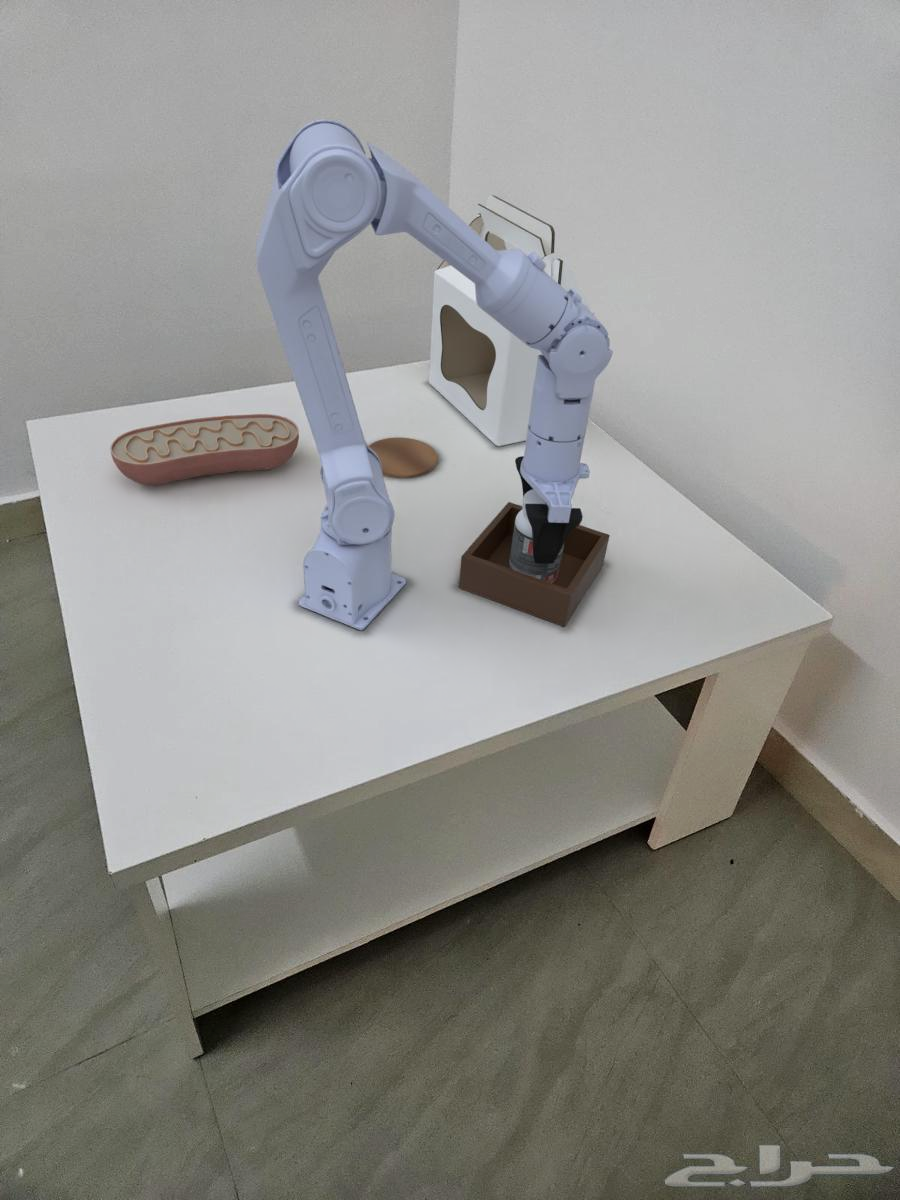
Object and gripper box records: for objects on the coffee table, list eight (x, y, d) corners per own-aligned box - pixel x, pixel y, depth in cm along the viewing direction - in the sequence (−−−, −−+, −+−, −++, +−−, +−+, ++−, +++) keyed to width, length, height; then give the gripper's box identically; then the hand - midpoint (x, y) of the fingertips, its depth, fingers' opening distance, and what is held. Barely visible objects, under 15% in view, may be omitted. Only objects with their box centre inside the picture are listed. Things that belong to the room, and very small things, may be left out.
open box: (564, 627, 86) (571, 595, 83) (458, 587, 90) (461, 556, 87) (603, 565, 95) (610, 534, 92) (504, 532, 99) (508, 501, 96)
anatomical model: (121, 504, 98) (113, 468, 95) (114, 463, 105) (106, 428, 102) (308, 477, 106) (306, 443, 103) (290, 440, 113) (288, 407, 109)
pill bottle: (555, 593, 90) (569, 519, 84) (504, 584, 91) (514, 509, 84) (560, 563, 94) (574, 490, 88) (511, 554, 95) (522, 481, 89)
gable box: (427, 382, 129) (436, 190, 111) (499, 370, 134) (519, 185, 117) (497, 448, 115) (521, 239, 97) (575, 432, 120) (611, 230, 102)
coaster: (415, 486, 106) (415, 482, 105) (349, 464, 109) (349, 460, 109) (450, 453, 113) (450, 450, 112) (387, 433, 116) (387, 430, 116)
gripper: (611, 467, 75) (586, 581, 84) (583, 396, 87) (564, 504, 95) (535, 465, 75) (519, 580, 84) (517, 394, 86) (504, 502, 95)
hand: (538, 540), depth 89 cm, fingers open, 7 cm apart
